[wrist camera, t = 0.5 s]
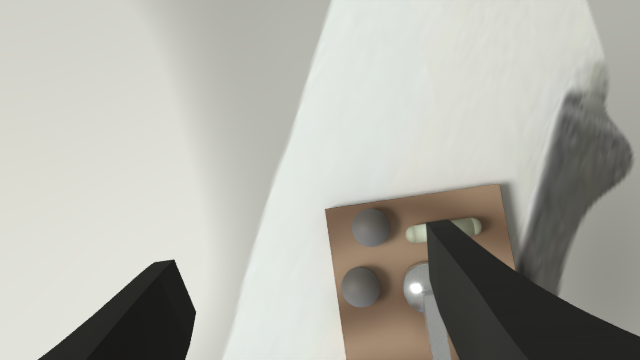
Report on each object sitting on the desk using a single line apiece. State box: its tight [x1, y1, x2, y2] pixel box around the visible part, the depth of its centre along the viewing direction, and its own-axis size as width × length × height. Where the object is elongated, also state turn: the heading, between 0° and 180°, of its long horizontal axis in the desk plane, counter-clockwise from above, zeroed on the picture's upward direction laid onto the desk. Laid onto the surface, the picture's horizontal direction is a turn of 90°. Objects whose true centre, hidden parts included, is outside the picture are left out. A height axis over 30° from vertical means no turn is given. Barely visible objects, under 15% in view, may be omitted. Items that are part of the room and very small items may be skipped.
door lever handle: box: [402, 261, 451, 360], centre depth 30 cm, size 12×4×3 cm, turn 7°
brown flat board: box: [325, 184, 515, 360], centre depth 32 cm, size 18×14×3 cm
